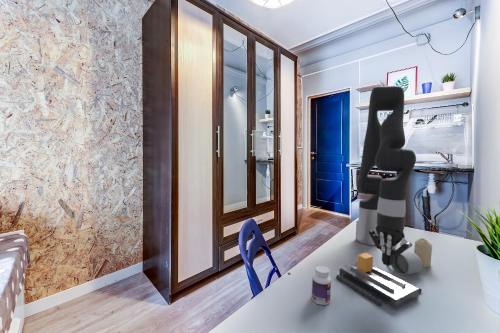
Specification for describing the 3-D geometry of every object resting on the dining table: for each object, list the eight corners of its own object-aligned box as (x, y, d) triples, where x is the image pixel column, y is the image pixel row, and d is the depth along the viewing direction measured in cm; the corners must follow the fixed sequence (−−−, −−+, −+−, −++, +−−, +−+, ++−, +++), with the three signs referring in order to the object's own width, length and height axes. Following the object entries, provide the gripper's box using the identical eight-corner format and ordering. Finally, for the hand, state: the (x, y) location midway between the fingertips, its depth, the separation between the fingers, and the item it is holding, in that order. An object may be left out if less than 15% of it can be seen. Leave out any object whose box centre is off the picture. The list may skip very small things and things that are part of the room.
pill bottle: (330, 307, 67) (332, 275, 66) (311, 303, 68) (312, 272, 68) (329, 295, 72) (330, 265, 71) (311, 292, 74) (312, 263, 73)
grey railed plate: (335, 278, 82) (336, 275, 82) (370, 266, 90) (370, 263, 90) (386, 310, 66) (386, 306, 66) (421, 292, 75) (421, 288, 74)
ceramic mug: (423, 275, 85) (425, 254, 84) (408, 279, 82) (409, 258, 81) (396, 262, 94) (397, 243, 94) (381, 265, 92) (382, 246, 91)
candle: (433, 268, 90) (435, 243, 89) (417, 266, 91) (419, 241, 90) (425, 261, 95) (427, 237, 94) (410, 259, 96) (412, 236, 95)
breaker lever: (357, 268, 82) (357, 254, 81) (364, 266, 84) (365, 252, 83) (364, 272, 79) (365, 258, 79) (372, 269, 81) (373, 256, 80)
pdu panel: (339, 275, 84) (339, 264, 83) (361, 267, 89) (361, 257, 89) (395, 309, 66) (396, 296, 66) (418, 297, 72) (419, 285, 71)
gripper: (364, 208, 77) (361, 258, 78) (406, 220, 65) (401, 278, 67) (378, 205, 80) (375, 253, 82) (420, 216, 68) (416, 271, 70)
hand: (387, 264), depth 74 cm, fingers closed
